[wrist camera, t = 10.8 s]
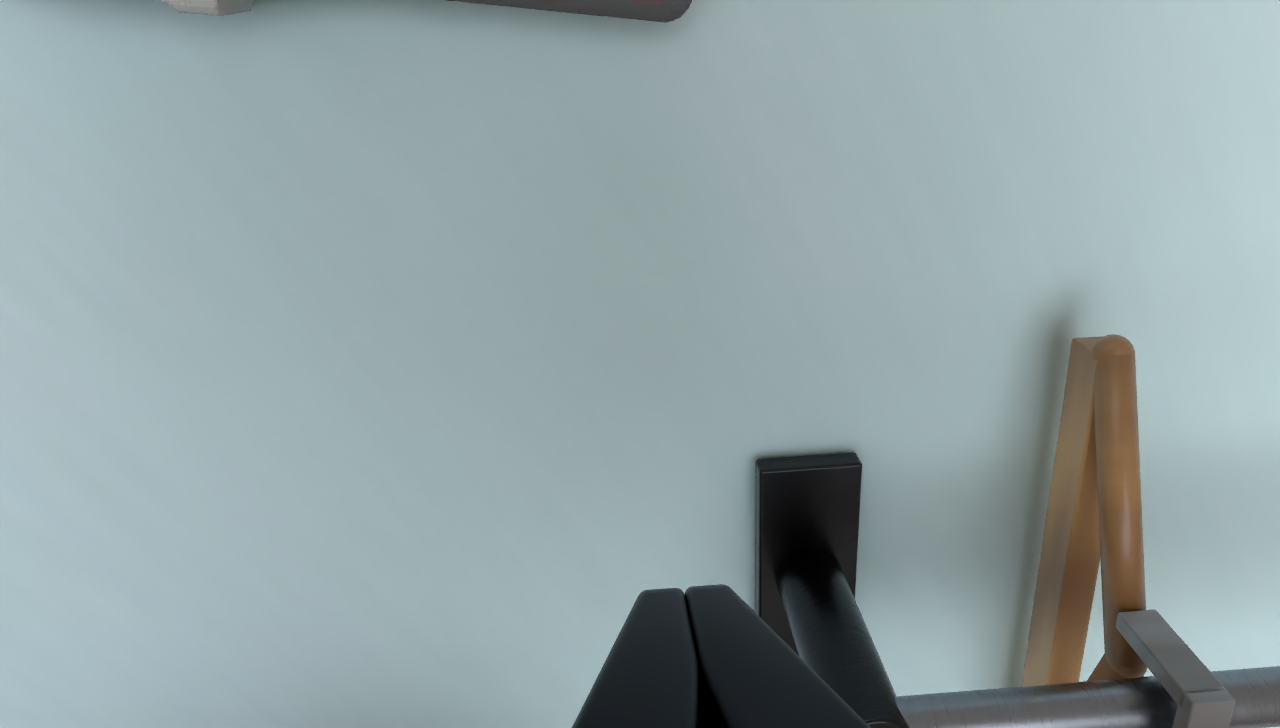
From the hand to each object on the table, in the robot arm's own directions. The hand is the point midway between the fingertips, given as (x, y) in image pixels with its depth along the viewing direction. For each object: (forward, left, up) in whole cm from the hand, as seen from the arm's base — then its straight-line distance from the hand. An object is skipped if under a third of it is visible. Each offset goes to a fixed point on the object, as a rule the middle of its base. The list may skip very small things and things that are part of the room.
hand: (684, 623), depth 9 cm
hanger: (-8, -10, -12) cm, 17 cm away
